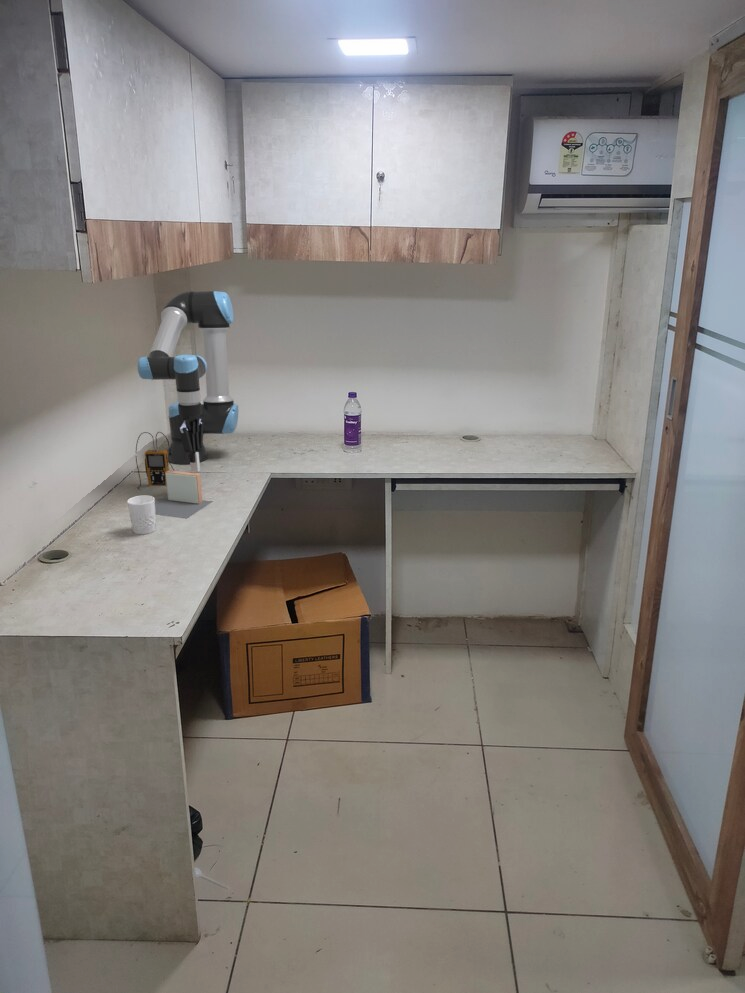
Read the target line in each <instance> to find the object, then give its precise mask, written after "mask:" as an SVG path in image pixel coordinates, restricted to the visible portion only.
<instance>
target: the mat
mask: <svg viewBox="0 0 745 993" xmlns="http://www.w3.org/2000/svg"><path fill="white" fill-rule="evenodd" d="M202 501H203V502H202V503H200V504H195V503H187V502H179V501H171V500H168V495H165V496H163V497H162V498H161V499H158V500H156V501H155V514H156V516H157V515H158V516H165V517H172V518H179V519H185V520H188V519H189V518H190V517H193V515H195V514H197V513H198V512H199V511H201V510H202V509H204V508H205V507H207V506H209V505H210V504H212V503H213V501H211V500H204V499H202Z"/></svg>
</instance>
